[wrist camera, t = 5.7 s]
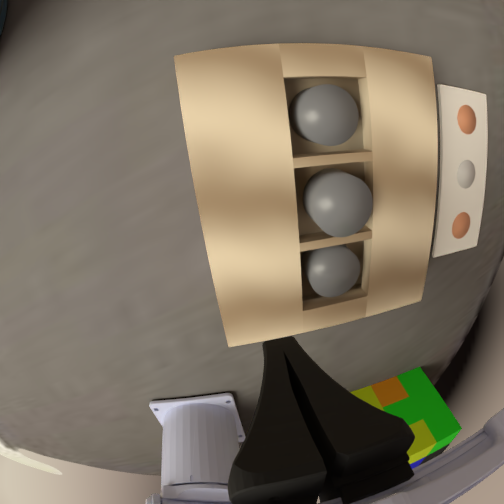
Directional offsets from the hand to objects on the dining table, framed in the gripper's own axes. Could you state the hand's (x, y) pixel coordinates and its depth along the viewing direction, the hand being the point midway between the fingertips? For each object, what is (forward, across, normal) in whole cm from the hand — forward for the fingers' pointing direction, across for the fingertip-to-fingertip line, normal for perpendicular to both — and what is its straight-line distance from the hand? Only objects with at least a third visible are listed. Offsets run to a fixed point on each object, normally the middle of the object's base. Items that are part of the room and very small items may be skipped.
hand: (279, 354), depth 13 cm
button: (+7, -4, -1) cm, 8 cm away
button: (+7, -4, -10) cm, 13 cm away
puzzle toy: (+8, -13, +22) cm, 27 cm away
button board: (+8, -4, -5) cm, 10 cm away
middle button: (+5, -4, -5) cm, 9 cm away
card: (+8, -18, -5) cm, 20 cm away
